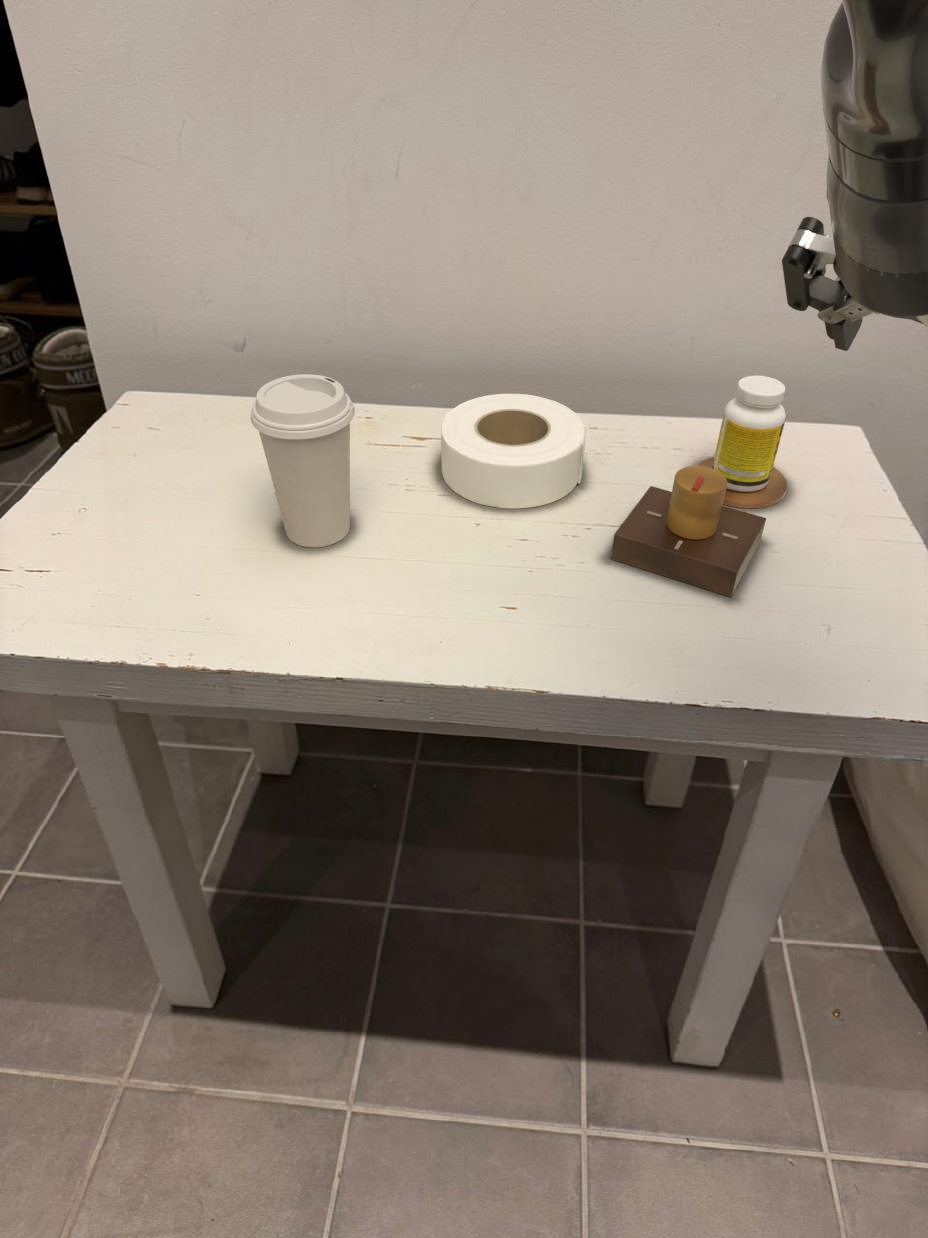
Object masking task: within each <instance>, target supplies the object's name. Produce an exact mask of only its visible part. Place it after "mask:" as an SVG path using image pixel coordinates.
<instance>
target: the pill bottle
mask: <svg viewBox="0 0 928 1238" xmlns="http://www.w3.org/2000/svg"><path fill="white" fill-rule="evenodd" d="M785 393H786V386H785V384H784V383H783V382H781V381H780V380H778V379H776V378H774V377H770V376H765V375H747V376H744V377H742V378H741V379H739V381H738V382H737V387H736V390H735V397H733V398H732V399H731V400H729V402H727V404H726V405H725V408H724V412H723V414H722V420H721V425H720V429H719V432H718V433H719V434H718V439H717V443H716V448H715V453H714V462H713V467H712V469H714V470H716V471H718V472H720V473H721V474H723V475H724V476H725V478H726V479H727V487H726V489H729V490H733V491H738V492H754V491H758V490H761V489H763V488H764V487H765V486H766V485H767V484H768V482H769V480H770V477H771V473H772V469H773V467H774V465H775V461H776V458H777V454H778V450H779V447H780V442H781V439H782V436H783V435H782V434H783V430H784V427H785V423H786V418H787V414H786V410H785V408H784V406H783V405H782V402H783V401H784V398H785Z"/></svg>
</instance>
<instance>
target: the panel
mask: <svg viewBox="0 0 928 1238" xmlns="http://www.w3.org/2000/svg"><path fill="white" fill-rule="evenodd" d="M671 494H672V490H671V491H670V490H668V489H664V488H660V487H656V486H653V485H650V486H649V487H648V489H647V490H646V492H644V494H643V495H642V496H641V498H640V499H639V501H638V502H637V503H636V505H635V506H634V507H633V509H632V510H631V511H630V512H629V514H628V515H627V516H626V518H625V519H624V521H623V522H621V525H620V526H619V527H618V528H617V529H616V530H615V531H616V532H614V534H613V540H612V548H611V554H610V555H611V556H610V560H613V561H617V562H618V563H622V564H624V565H629V566H632V567H634V568H638V569H641V570H644V571H648V572H650V573H654V574H657V575H659V576H662V577H663V576H664V577H666V578H668V579H669V578H670V579H672V580H675V581H679V582H682V583H685V584H688V585H691V586H695V587H698V588H701V589H704V590H707V591H711V592H714V593H718V594H720V595H723V596H726V597H729V598H731V597H732V596H733V594H734V593H735V591H736V589H737V587H738V585H739V584H740V581H741V579H742V577H743V575H744V574H745V572H746V570H747V568H748V566H749V564H750V563H751V560H752V558H753V557H754V554H755V553H756V551H757V549H758V547H759V545H760V543H761V540H762V537H763V534H764V529H765V526H766V523H767V522H766V521H767V517H764V516H760V515H757V514H753V513H749V512H746V511H742V510H740V509H735V508H733V507H729V506H726V505H722V509H721V513H720V518H719V522H718V526H717V530H716V532H715V533H714V535H712V536H711V537H708V538H705V539H687V538H683V537H680V536H678V535H676V534H674V533H673V532H672V531H670V530H669V528H668V527H667V523H666V521H667V516H668V510H669V505H670V500H671Z"/></svg>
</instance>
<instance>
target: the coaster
mask: <svg viewBox="0 0 928 1238" xmlns="http://www.w3.org/2000/svg"><path fill="white" fill-rule="evenodd" d="M714 457H715V456H714ZM714 457H710V458H707V459H705V460H703V461H701V462H700V463H698V464H697V466H702V467H708V468H711V469H712V467H713V462H714ZM787 490H788V482H787V479H786V478H785V476H784V475H783V473H781V472H780V471H779V470H778V469H777V468H775V467H774V466H773V469H772V473H771V477H770V480H769V482H768V484H767V485H766V486H765V487H764V488H763V489H761V490H758V491H754V492H738V491H733V490H729V489H726V492H725V496H724V500H723V506H727V507H731V508H737V509H738V508H739V509H762V508H767V507H770V506H773V505H775V504H777V503H779V502H781V501H782V500H783V499H784V497H785V496H786V493H787Z"/></svg>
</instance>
